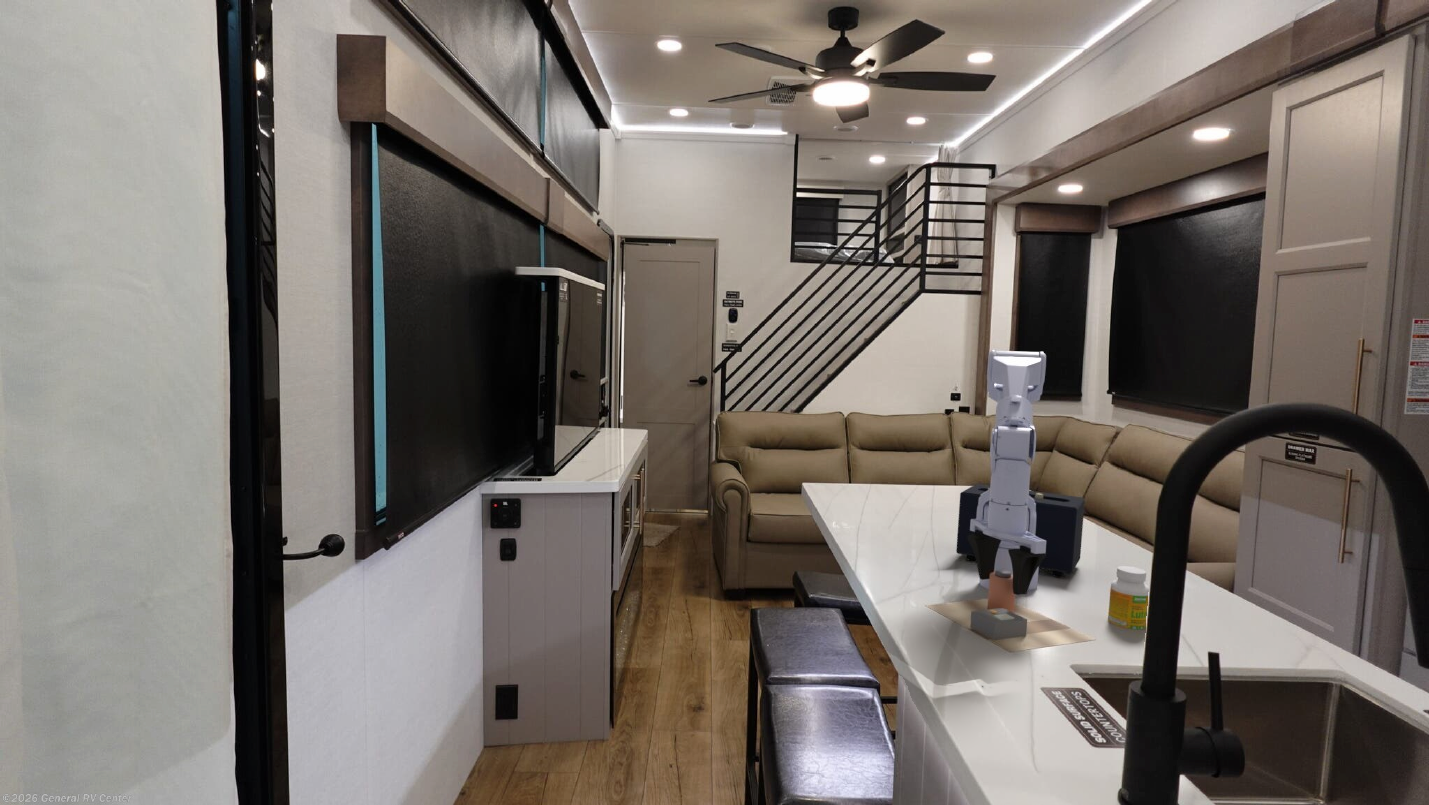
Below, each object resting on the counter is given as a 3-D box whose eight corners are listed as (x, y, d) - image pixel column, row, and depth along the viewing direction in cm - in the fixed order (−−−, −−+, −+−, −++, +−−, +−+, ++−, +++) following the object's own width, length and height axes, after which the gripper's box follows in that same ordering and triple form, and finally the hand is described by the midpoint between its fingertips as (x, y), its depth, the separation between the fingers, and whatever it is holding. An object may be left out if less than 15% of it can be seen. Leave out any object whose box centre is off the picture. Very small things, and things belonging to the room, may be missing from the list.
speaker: (1079, 566, 153) (1085, 493, 152) (1071, 582, 142) (1077, 504, 141) (970, 547, 165) (975, 479, 163) (955, 560, 154) (960, 488, 153)
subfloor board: (1002, 603, 128) (1003, 597, 128) (1095, 647, 111) (1096, 639, 110) (924, 612, 122) (925, 605, 122) (1009, 660, 105) (1010, 651, 105)
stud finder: (1001, 623, 115) (1003, 606, 115) (1026, 636, 111) (1027, 618, 111) (970, 627, 113) (971, 610, 113) (993, 640, 109) (995, 622, 108)
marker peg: (1001, 607, 123) (1004, 567, 122) (1019, 615, 119) (1022, 575, 119) (981, 609, 121) (984, 569, 121) (999, 618, 118) (1002, 577, 117)
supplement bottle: (1131, 639, 115) (1137, 576, 114) (1099, 626, 119) (1104, 566, 119) (1153, 633, 117) (1159, 572, 116) (1121, 621, 122) (1126, 563, 121)
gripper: (957, 493, 124) (952, 574, 125) (1022, 513, 111) (1016, 603, 112) (991, 492, 127) (986, 571, 128) (1059, 511, 113) (1052, 599, 114)
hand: (1002, 586), depth 120 cm, fingers open, 7 cm apart
